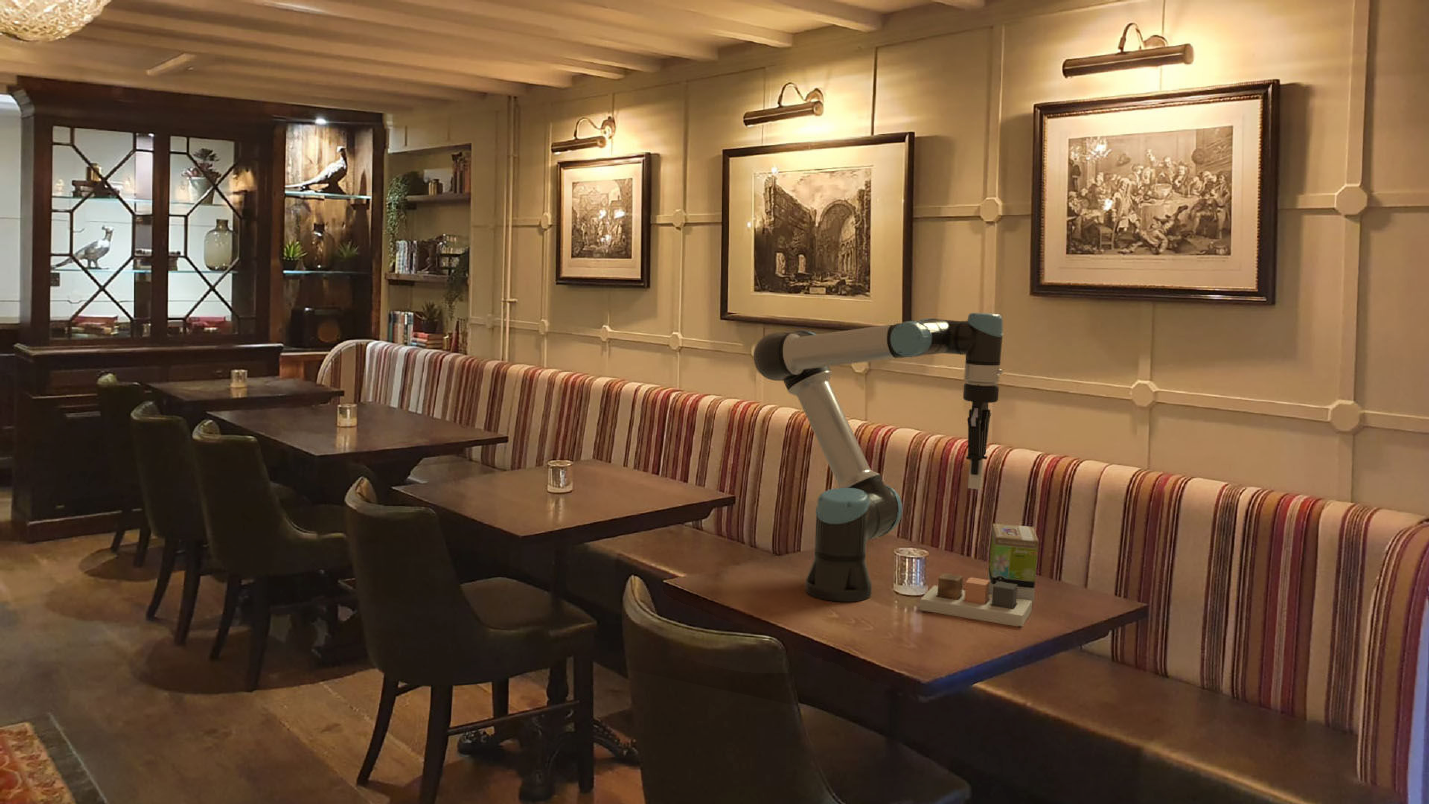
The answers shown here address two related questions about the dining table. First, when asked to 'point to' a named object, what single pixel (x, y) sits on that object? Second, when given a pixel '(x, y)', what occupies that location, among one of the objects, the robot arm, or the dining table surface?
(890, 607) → the dining table surface
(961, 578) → the key walnut
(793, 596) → the dining table surface
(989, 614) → the key panel
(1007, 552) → the tea box
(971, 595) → the key terracotta
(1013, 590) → the key dark grey
